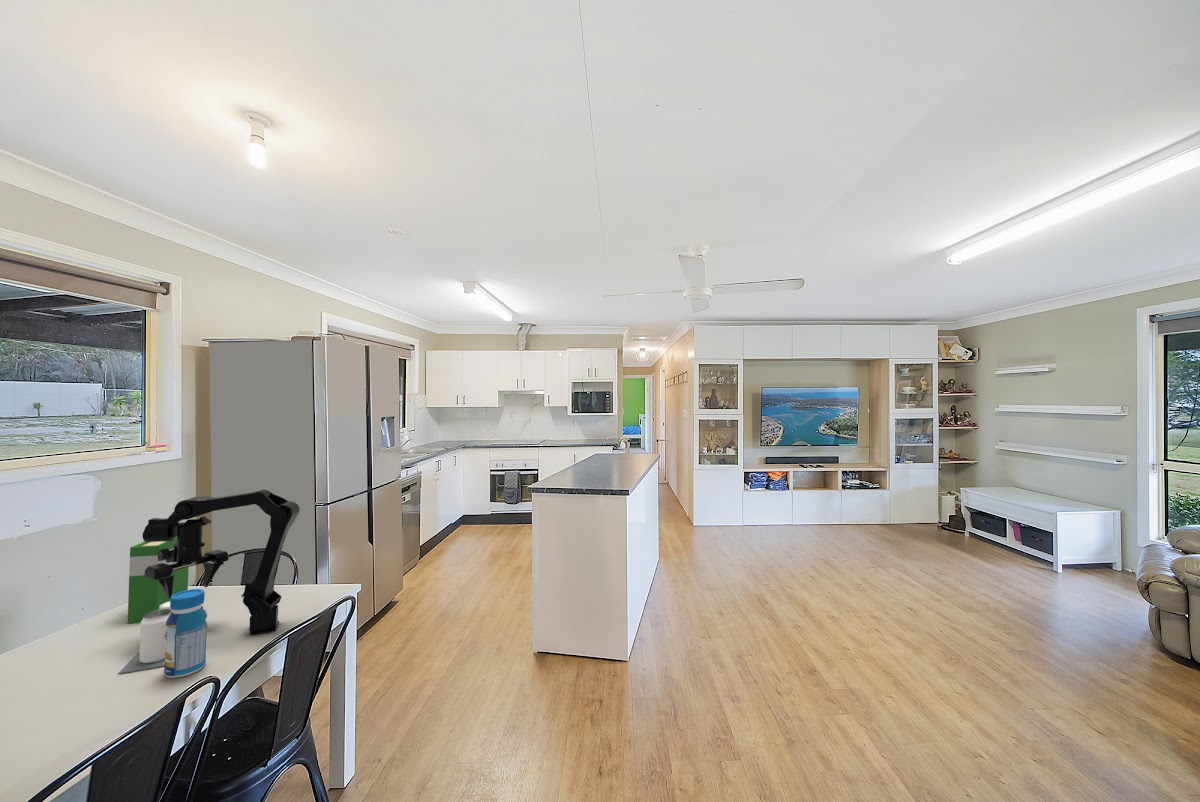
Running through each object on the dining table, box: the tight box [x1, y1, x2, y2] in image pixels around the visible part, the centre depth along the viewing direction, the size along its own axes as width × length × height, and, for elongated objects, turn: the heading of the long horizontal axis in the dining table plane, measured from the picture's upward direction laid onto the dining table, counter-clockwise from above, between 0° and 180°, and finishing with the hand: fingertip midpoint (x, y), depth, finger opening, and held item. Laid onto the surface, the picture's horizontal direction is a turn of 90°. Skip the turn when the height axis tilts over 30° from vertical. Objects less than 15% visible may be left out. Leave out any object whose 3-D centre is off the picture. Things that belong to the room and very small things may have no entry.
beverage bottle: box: [163, 588, 209, 679], centre depth 122 cm, size 8×8×20 cm
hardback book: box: [126, 537, 190, 625], centre depth 156 cm, size 18×7×24 cm, turn 17°
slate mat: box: [117, 651, 165, 675], centre depth 127 cm, size 11×11×1 cm
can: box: [139, 609, 171, 664], centre depth 127 cm, size 6×6×12 cm
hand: (188, 592), depth 140 cm, fingers open, 9 cm apart
